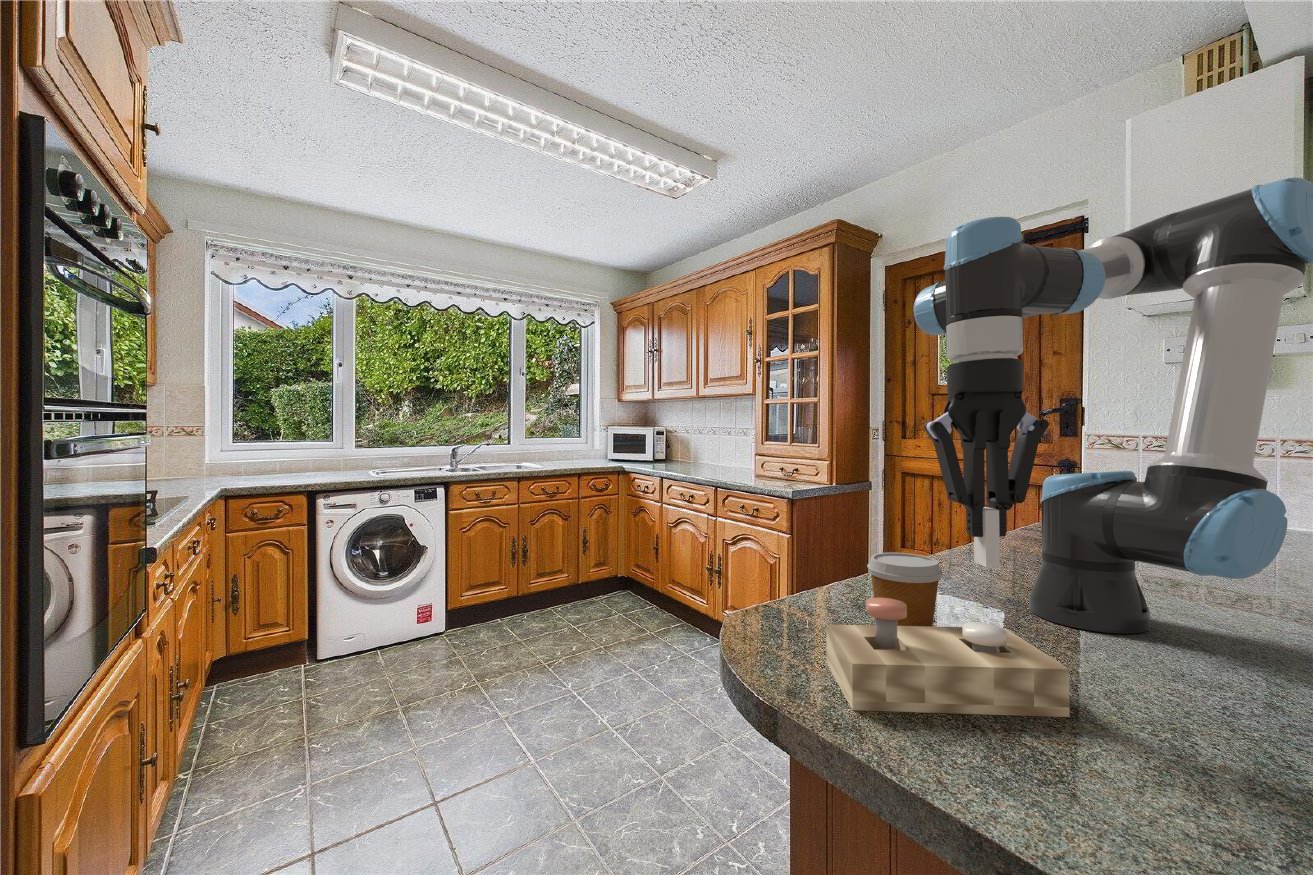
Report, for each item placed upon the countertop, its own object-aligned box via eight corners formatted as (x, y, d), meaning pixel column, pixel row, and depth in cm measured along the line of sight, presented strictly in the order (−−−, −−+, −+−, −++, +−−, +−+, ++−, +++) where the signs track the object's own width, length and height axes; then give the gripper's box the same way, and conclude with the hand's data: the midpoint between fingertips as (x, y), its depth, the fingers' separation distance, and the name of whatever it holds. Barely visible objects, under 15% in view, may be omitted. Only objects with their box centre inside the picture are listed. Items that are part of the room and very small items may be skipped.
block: (1005, 667, 69) (1005, 627, 69) (1069, 717, 57) (1069, 669, 57) (826, 663, 71) (826, 624, 71) (852, 710, 59) (852, 663, 59)
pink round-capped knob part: (898, 638, 66) (898, 597, 66) (912, 653, 62) (912, 609, 62) (861, 637, 67) (861, 597, 66) (872, 652, 62) (872, 609, 62)
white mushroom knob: (993, 663, 65) (993, 622, 65) (1015, 680, 61) (1015, 636, 61) (955, 662, 66) (955, 621, 66) (974, 679, 61) (973, 635, 61)
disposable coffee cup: (952, 661, 71) (952, 569, 71) (874, 656, 73) (874, 566, 73) (931, 634, 80) (930, 553, 80) (862, 630, 82) (862, 550, 82)
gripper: (1023, 362, 66) (1026, 556, 67) (912, 365, 67) (915, 557, 68) (1065, 353, 59) (1068, 573, 59) (939, 357, 60) (942, 573, 60)
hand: (986, 564), depth 63 cm, fingers closed
